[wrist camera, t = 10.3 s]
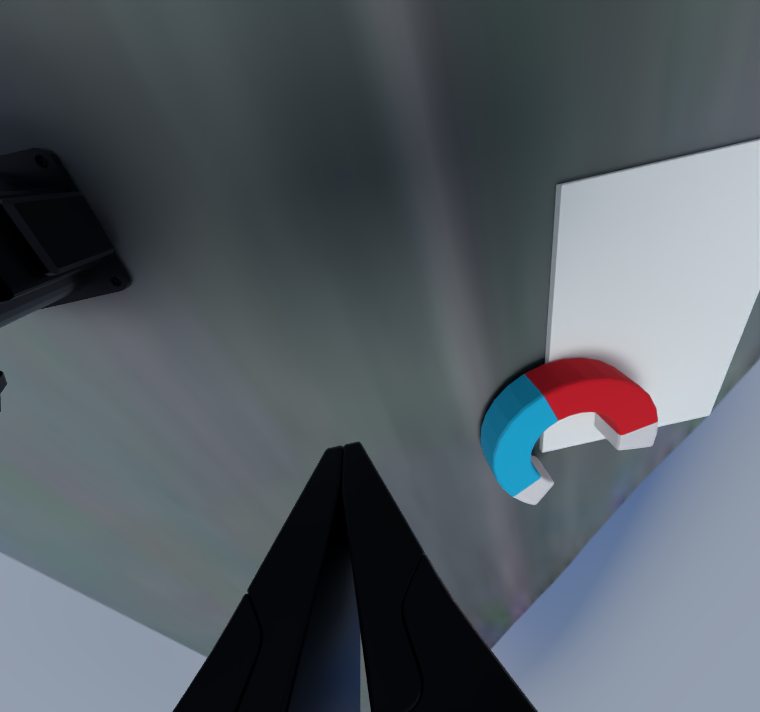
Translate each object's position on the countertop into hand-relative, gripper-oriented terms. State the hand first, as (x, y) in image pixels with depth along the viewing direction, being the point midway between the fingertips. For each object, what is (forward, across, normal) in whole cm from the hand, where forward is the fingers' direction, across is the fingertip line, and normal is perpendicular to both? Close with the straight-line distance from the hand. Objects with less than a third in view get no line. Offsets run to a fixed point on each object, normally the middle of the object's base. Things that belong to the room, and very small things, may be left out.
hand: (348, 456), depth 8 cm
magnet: (+11, -11, +8) cm, 17 cm away
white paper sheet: (+13, -20, +7) cm, 24 cm away
